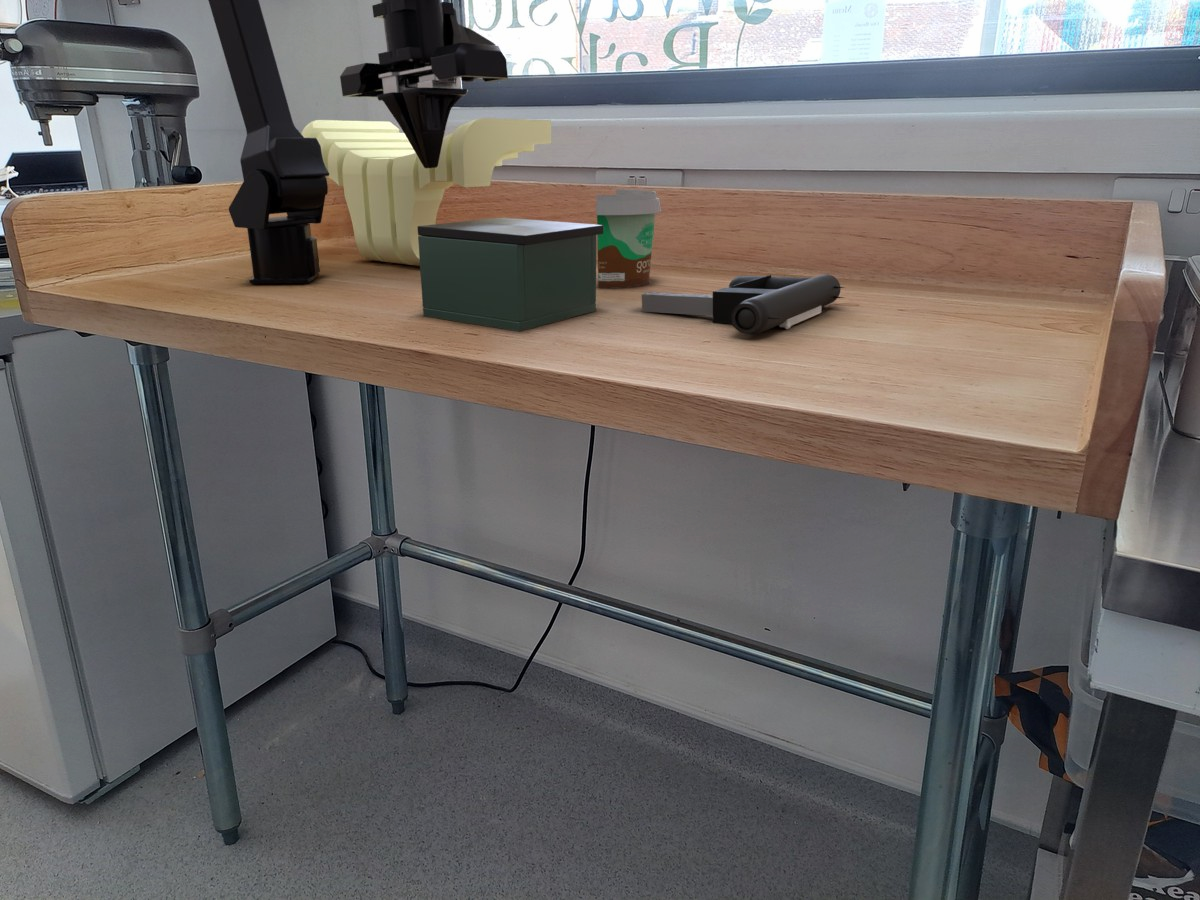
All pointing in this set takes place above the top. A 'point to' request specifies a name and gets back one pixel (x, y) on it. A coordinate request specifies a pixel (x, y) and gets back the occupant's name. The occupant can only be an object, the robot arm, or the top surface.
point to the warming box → (507, 281)
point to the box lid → (511, 230)
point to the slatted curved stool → (412, 174)
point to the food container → (625, 237)
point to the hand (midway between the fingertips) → (431, 168)
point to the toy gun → (753, 301)
